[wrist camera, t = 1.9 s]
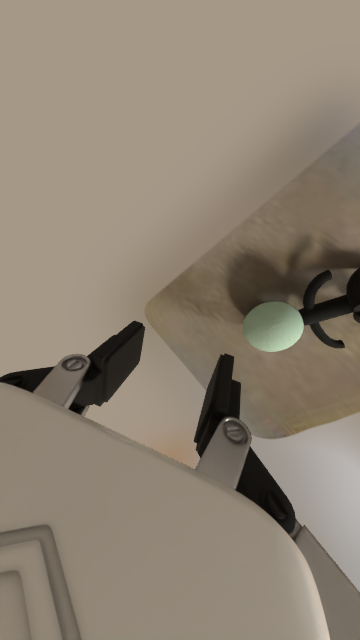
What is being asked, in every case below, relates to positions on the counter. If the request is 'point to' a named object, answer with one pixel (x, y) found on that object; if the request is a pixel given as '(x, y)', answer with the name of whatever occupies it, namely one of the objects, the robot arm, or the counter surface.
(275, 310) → the toy
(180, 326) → the counter surface
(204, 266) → the counter surface
